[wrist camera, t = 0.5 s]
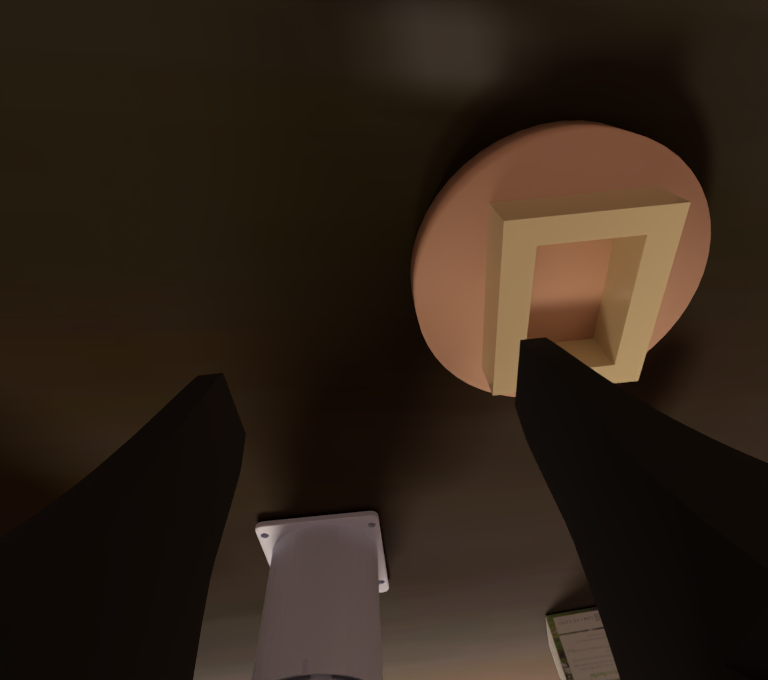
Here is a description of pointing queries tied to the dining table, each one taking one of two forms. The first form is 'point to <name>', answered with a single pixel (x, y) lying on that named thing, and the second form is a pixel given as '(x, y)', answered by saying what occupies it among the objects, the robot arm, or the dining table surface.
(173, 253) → the dining table surface
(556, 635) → the syrup box
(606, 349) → the tan rounded piece
